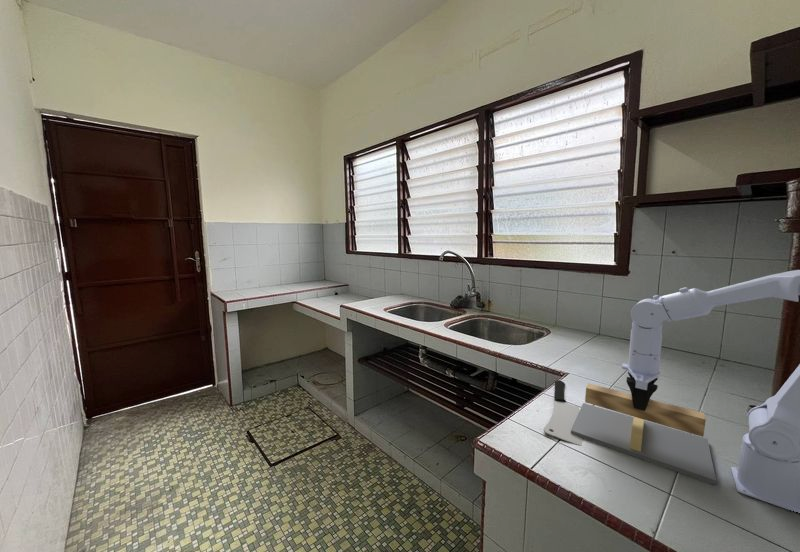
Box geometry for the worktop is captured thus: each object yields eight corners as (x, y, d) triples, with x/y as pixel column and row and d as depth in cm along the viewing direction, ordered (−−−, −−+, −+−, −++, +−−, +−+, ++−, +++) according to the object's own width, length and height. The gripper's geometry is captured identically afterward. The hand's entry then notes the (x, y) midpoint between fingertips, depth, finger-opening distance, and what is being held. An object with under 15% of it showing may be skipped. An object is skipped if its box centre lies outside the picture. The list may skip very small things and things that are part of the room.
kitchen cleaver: (589, 445, 74) (543, 429, 78) (588, 452, 74) (542, 435, 79) (584, 387, 101) (550, 377, 105) (583, 392, 101) (550, 382, 106)
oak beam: (701, 429, 69) (704, 413, 68) (703, 436, 67) (705, 419, 66) (587, 397, 83) (588, 383, 82) (584, 402, 80) (586, 387, 80)
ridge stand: (707, 442, 75) (709, 425, 74) (715, 485, 63) (718, 464, 62) (583, 405, 91) (583, 391, 91) (570, 433, 79) (571, 417, 78)
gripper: (625, 338, 80) (621, 388, 82) (620, 357, 69) (616, 413, 71) (661, 344, 76) (656, 396, 78) (662, 365, 65) (656, 425, 67)
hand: (639, 405), depth 74 cm, fingers closed on oak beam, 3 cm apart
